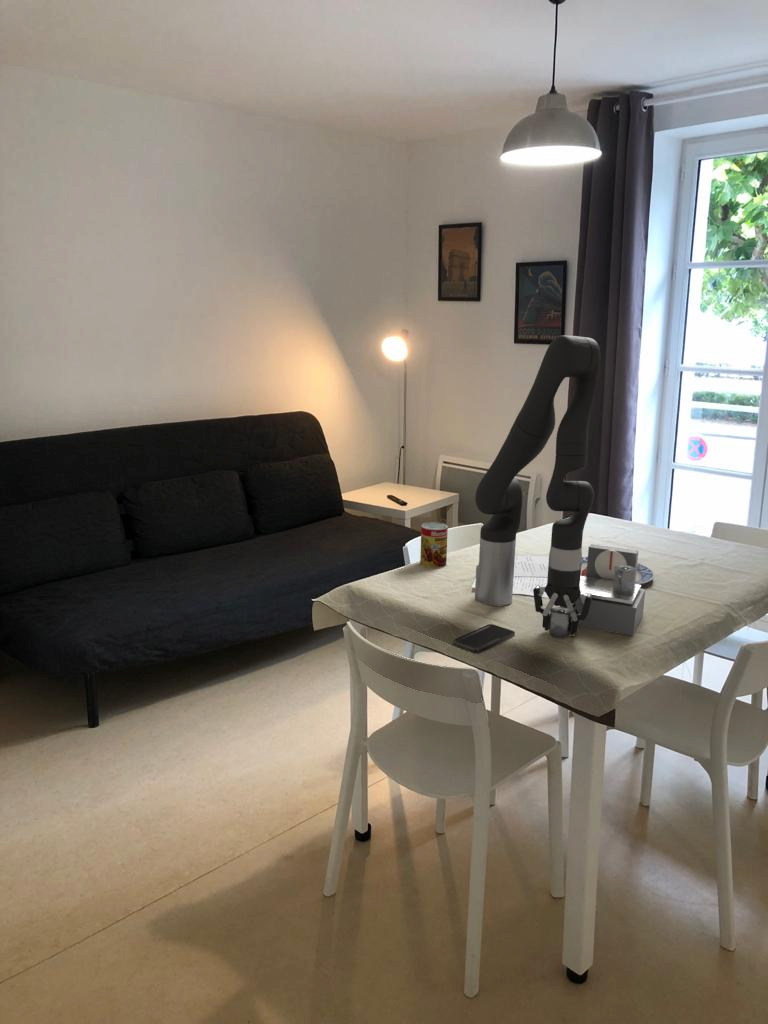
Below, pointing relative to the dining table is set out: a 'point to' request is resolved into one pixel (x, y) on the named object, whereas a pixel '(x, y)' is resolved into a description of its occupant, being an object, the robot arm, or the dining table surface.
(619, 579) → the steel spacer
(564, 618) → the cylinder
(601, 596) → the scale pan
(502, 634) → the phone
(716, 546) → the dining table surface
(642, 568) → the ceramic plate
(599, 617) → the scale
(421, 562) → the canned food
